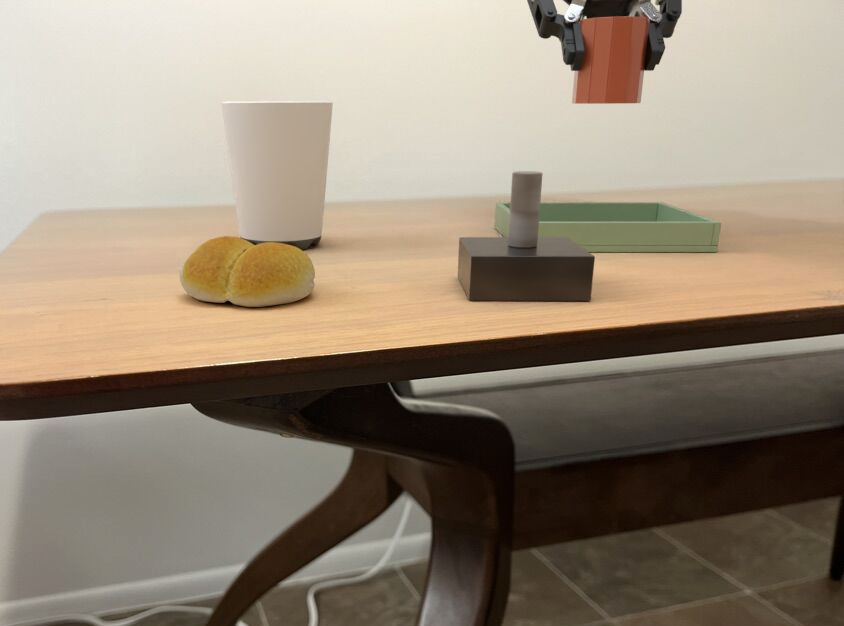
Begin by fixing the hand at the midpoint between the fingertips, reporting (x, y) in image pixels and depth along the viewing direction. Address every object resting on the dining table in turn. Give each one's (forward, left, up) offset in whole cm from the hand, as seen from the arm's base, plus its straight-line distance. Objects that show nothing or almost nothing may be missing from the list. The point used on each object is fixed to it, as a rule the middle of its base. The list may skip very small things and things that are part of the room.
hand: (615, 62), depth 71 cm
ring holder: (+11, +20, -16) cm, 28 cm away
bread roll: (+30, +23, -16) cm, 41 cm away
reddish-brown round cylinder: (0, -2, -3) cm, 4 cm away
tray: (0, -2, -16) cm, 16 cm away
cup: (+30, +2, -16) cm, 34 cm away
